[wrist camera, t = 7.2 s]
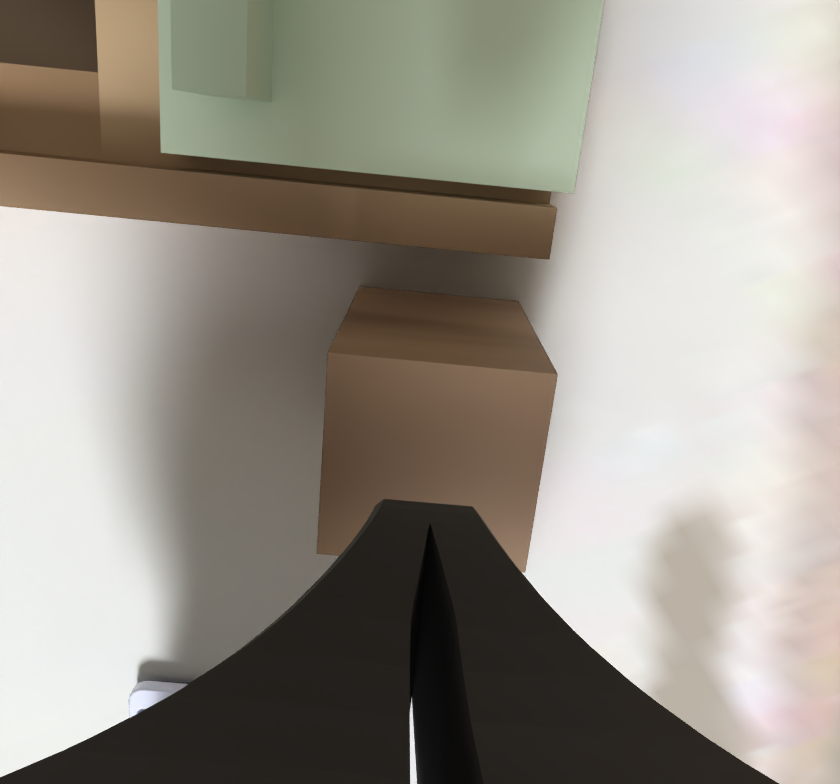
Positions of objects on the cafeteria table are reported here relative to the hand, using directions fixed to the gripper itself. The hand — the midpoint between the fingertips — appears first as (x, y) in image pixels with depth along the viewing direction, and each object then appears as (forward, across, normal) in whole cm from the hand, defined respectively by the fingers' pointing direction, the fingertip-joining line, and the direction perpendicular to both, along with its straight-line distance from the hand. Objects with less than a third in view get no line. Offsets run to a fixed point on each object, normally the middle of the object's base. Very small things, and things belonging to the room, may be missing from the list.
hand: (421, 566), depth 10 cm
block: (+9, 0, 0) cm, 9 cm away
